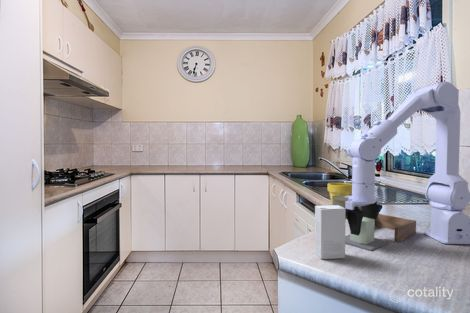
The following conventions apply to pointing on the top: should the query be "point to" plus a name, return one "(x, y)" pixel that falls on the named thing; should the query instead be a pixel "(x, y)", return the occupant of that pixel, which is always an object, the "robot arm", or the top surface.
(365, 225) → the sage block
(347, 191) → the plant pot
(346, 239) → the charcoal mat
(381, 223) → the walnut u-shaped frame
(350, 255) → the top surface
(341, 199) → the can
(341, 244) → the skincare box
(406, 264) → the top surface
